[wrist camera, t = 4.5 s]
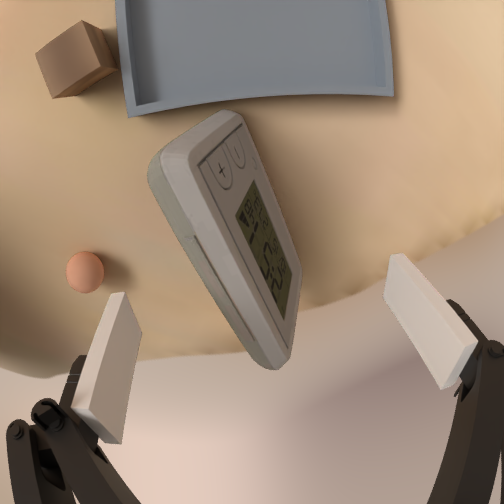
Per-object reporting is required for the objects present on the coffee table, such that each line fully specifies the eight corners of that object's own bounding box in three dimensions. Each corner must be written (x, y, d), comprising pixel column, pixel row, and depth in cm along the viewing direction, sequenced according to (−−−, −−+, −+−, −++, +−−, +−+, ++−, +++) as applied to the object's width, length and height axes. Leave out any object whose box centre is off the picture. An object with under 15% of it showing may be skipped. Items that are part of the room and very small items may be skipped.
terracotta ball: (82, 280, 26) (69, 303, 23) (68, 247, 24) (53, 268, 21) (113, 275, 26) (103, 299, 23) (101, 241, 24) (88, 263, 21)
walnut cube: (75, 95, 18) (52, 98, 15) (59, 56, 16) (34, 53, 13) (118, 69, 18) (100, 66, 14) (101, 29, 16) (81, 20, 12)
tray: (380, 95, 21) (393, 96, 19) (135, 115, 20) (128, 118, 18) (363, -43, 14) (375, -50, 12) (121, -33, 13) (114, -42, 11)
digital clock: (300, 276, 29) (336, 361, 20) (207, 297, 29) (208, 389, 20) (275, 99, 21) (323, 105, 12) (156, 125, 21) (112, 151, 11)
